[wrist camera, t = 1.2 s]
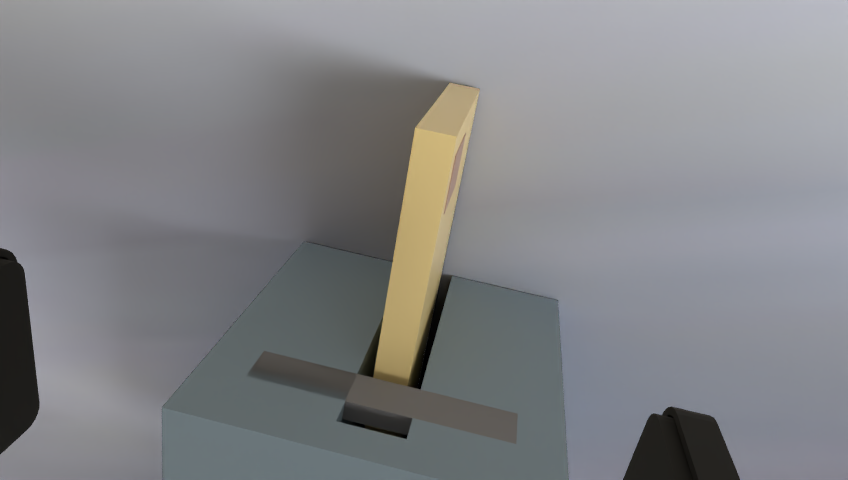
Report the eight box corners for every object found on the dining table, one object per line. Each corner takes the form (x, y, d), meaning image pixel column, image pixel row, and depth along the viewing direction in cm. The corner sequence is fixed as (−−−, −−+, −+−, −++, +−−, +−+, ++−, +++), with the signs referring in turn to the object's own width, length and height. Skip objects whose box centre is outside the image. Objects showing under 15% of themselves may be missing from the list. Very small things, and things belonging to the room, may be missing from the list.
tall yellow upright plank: (480, 89, 20) (457, 136, 15) (419, 383, 25) (384, 505, 20) (449, 82, 20) (414, 127, 15) (394, 376, 26) (352, 497, 20)
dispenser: (558, 300, 23) (570, 513, 14) (498, 496, 27) (479, 757, 18) (304, 241, 24) (161, 407, 15) (284, 440, 28) (163, 664, 19)
